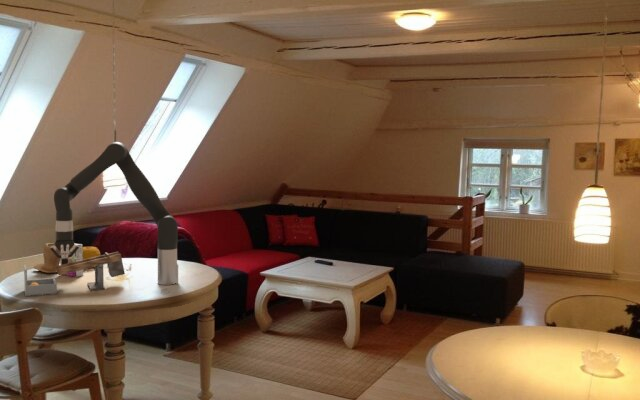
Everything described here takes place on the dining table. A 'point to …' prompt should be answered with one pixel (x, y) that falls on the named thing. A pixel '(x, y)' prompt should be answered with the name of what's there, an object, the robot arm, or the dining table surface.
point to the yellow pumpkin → (90, 252)
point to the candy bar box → (76, 257)
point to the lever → (95, 264)
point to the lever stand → (97, 279)
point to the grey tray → (44, 285)
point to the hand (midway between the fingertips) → (64, 266)
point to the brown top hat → (49, 260)
